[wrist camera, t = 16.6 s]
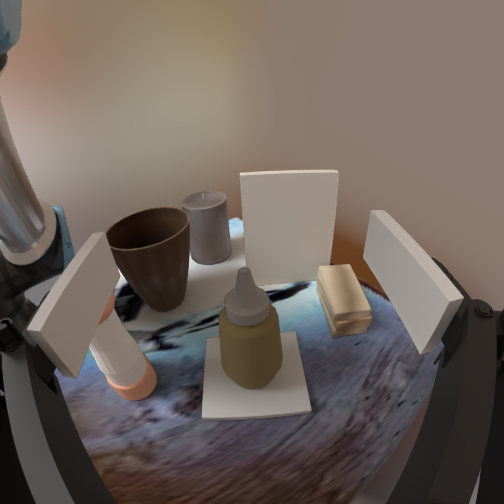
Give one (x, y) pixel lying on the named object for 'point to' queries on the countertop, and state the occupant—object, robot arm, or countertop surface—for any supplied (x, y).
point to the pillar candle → (208, 227)
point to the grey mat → (258, 400)
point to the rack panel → (288, 223)
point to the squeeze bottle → (249, 334)
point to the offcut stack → (343, 300)
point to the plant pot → (153, 254)
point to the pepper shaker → (121, 357)
